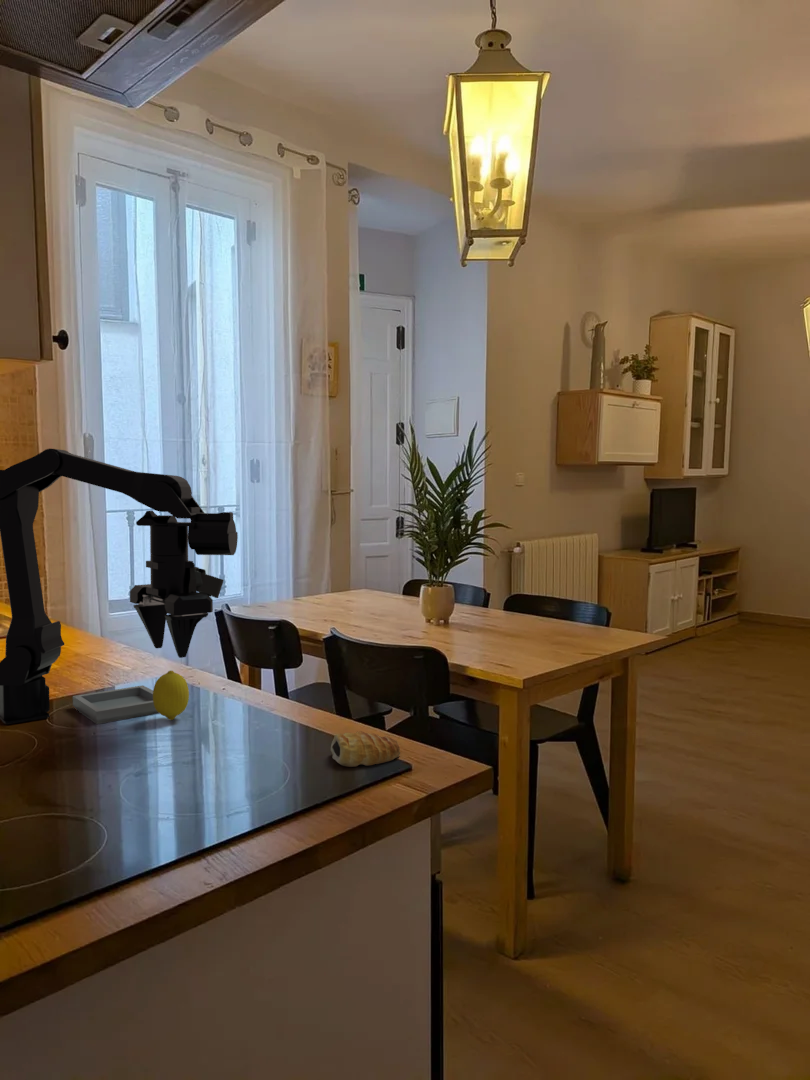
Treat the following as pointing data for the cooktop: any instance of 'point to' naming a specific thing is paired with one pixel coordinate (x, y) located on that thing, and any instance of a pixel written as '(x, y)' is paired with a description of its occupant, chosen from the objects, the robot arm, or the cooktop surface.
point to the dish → (116, 704)
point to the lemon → (170, 695)
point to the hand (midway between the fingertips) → (170, 652)
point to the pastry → (363, 749)
